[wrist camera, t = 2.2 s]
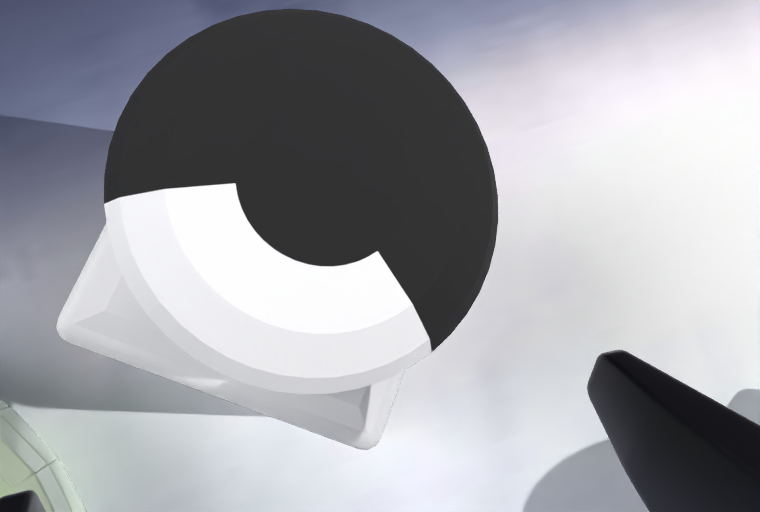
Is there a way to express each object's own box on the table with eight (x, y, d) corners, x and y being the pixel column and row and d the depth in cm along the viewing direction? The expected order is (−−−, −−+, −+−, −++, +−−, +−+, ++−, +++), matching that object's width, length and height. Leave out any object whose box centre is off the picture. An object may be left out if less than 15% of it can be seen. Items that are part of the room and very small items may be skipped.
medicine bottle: (204, 140, 20) (189, -140, 9) (396, 226, 22) (602, 80, 10) (107, 342, 19) (-68, 321, 7) (322, 422, 20) (469, 514, 8)
